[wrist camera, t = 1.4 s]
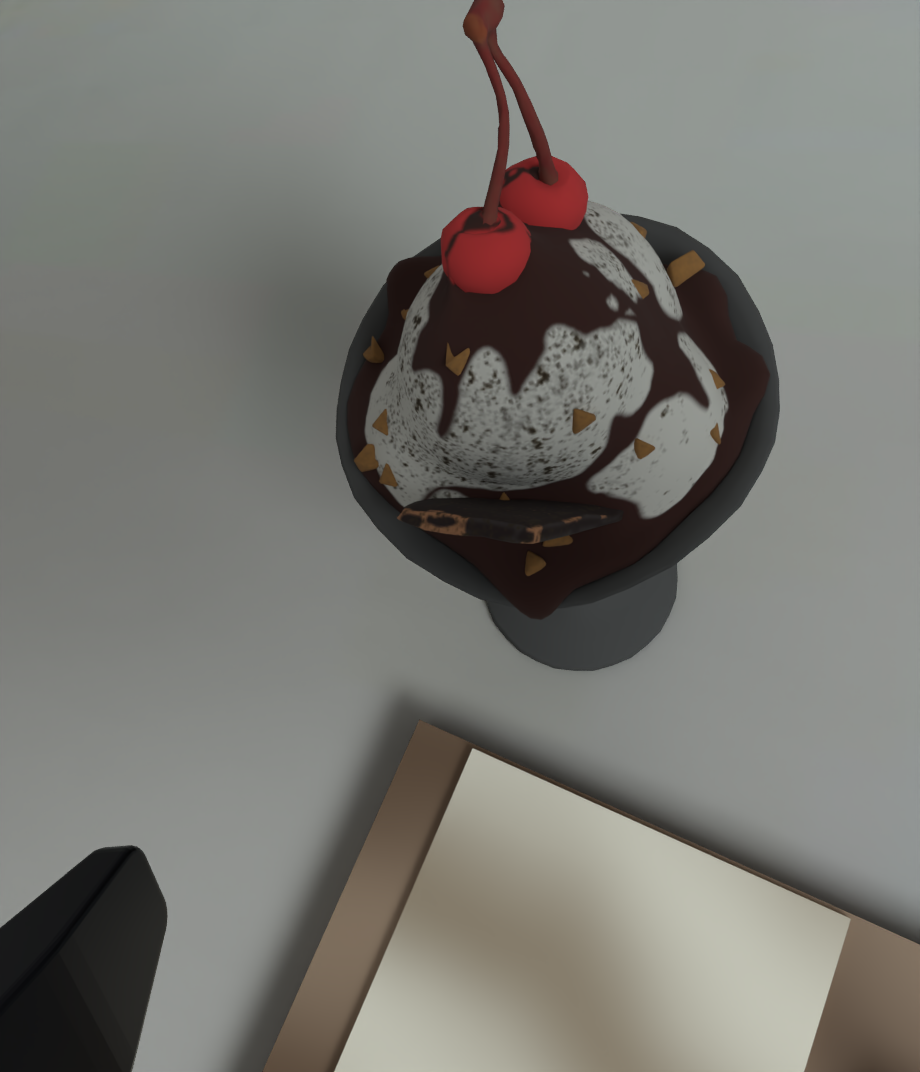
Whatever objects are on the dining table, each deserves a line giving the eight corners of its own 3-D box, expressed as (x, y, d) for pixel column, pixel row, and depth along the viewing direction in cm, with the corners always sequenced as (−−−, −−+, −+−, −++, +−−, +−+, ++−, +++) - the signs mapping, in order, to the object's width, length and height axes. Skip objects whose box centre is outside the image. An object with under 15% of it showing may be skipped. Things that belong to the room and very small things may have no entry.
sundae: (584, 410, 24) (529, -189, 10) (769, 583, 22) (1036, 113, 8) (400, 566, 23) (72, 164, 9) (569, 762, 21) (463, 610, 7)
